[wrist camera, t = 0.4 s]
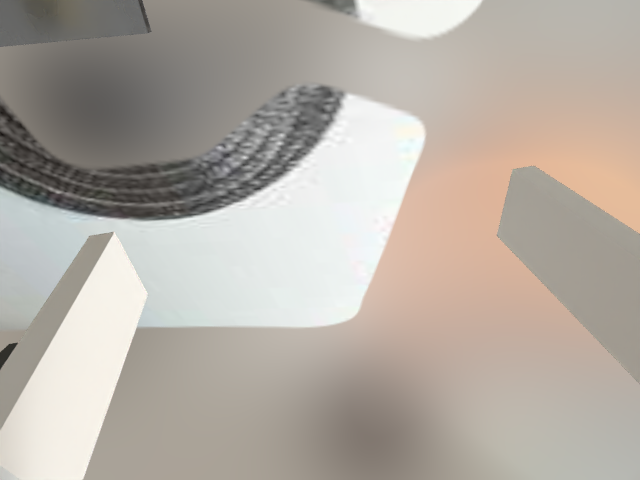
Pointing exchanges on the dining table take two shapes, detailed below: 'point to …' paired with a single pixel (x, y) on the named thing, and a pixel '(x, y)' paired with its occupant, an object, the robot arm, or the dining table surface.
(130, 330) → the robot arm
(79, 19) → the base
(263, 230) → the dining table surface
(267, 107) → the dining table surface
